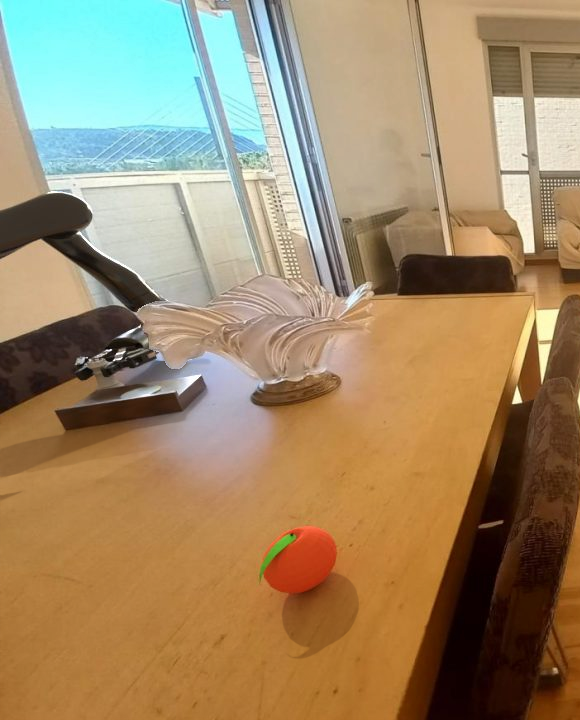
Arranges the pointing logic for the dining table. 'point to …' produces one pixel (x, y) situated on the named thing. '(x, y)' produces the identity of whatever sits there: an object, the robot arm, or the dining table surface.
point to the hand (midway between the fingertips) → (92, 374)
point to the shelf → (132, 402)
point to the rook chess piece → (101, 380)
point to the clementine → (299, 560)
